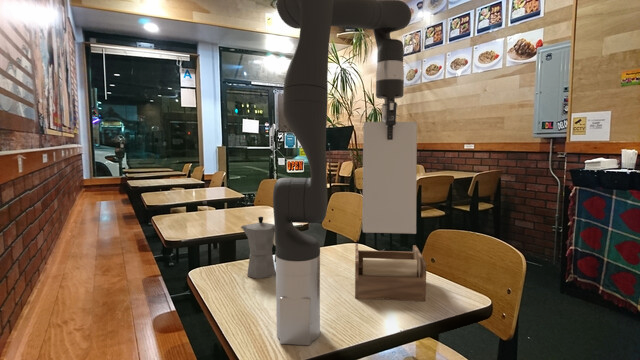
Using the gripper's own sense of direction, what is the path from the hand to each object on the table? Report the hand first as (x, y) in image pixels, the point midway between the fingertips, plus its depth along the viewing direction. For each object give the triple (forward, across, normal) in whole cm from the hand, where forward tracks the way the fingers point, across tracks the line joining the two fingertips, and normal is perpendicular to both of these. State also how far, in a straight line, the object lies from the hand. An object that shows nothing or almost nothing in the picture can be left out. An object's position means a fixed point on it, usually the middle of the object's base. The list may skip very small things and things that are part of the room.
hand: (388, 141), depth 100 cm
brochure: (+25, -4, 0) cm, 25 cm away
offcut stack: (+41, -8, 0) cm, 42 cm away
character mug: (+41, +14, +33) cm, 54 cm away
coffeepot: (+41, +4, +37) cm, 55 cm away
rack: (+41, -3, 0) cm, 41 cm away
